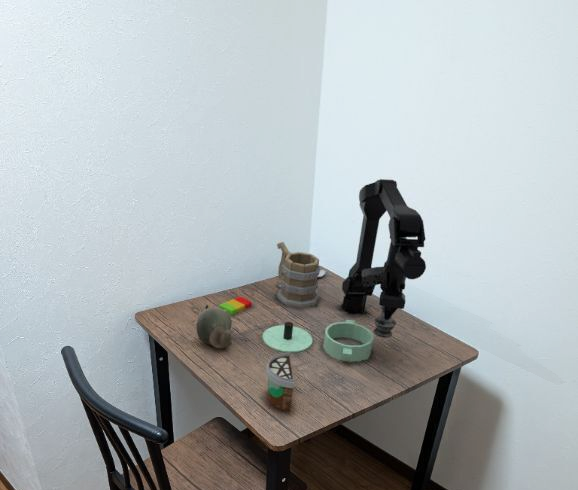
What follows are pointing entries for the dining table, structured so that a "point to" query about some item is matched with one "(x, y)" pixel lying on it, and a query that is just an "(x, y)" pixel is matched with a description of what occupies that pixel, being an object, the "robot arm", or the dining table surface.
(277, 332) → the pot lid
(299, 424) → the dining table surface
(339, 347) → the pot
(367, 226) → the robot arm
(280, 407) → the food container
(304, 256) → the tankard
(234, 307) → the popsicle
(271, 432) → the dining table surface
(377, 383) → the dining table surface
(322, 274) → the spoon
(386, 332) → the dark grey tall piece
